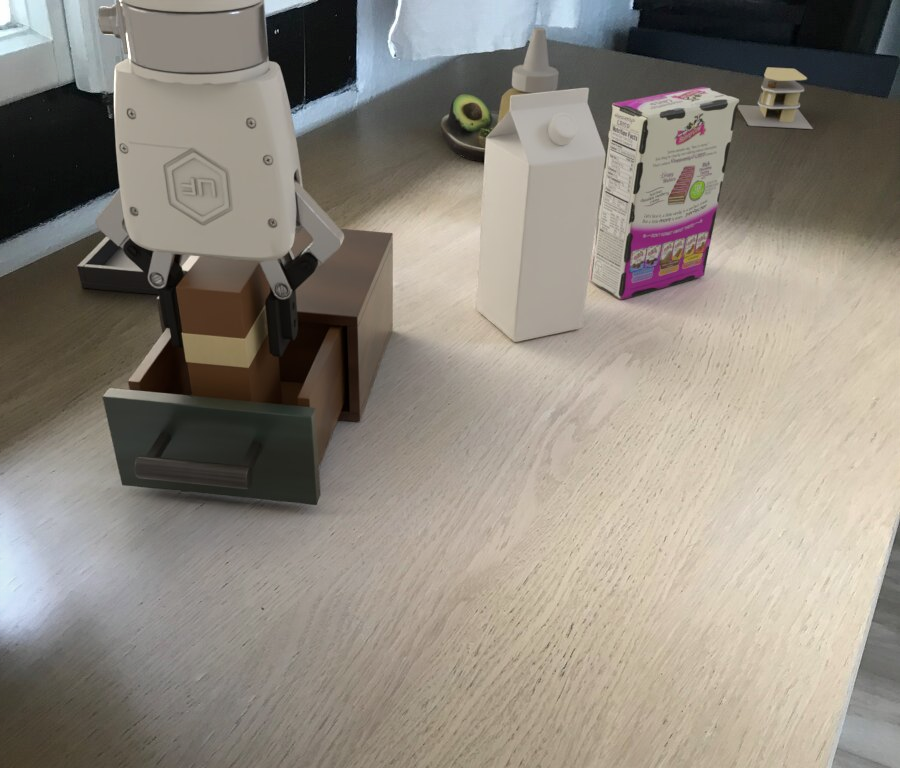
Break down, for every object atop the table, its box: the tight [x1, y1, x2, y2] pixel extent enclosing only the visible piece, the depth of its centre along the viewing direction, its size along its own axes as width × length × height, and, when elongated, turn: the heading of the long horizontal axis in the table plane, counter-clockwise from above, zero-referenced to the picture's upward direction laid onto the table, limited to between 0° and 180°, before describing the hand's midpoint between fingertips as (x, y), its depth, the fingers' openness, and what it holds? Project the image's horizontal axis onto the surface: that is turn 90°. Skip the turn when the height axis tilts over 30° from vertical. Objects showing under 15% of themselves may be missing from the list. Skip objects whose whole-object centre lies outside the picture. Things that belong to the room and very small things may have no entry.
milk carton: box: [475, 87, 606, 343], centre depth 83 cm, size 7×7×19 cm
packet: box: [176, 256, 283, 405], centre depth 66 cm, size 4×7×12 cm, turn 173°
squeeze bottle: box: [498, 27, 560, 123], centre depth 102 cm, size 8×8×18 cm
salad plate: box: [440, 93, 500, 163], centre depth 125 cm, size 19×18×5 cm
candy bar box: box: [590, 86, 740, 300], centre depth 91 cm, size 11×5×16 cm, turn 123°
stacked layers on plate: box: [737, 66, 814, 130], centre depth 138 cm, size 10×9×6 cm
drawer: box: [102, 322, 349, 506], centre depth 67 cm, size 19×13×7 cm
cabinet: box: [156, 227, 394, 423], centre depth 78 cm, size 16×15×9 cm
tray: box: [76, 235, 191, 296], centre depth 93 cm, size 14×11×2 cm
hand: (232, 340), depth 65 cm, fingers open, 5 cm apart
